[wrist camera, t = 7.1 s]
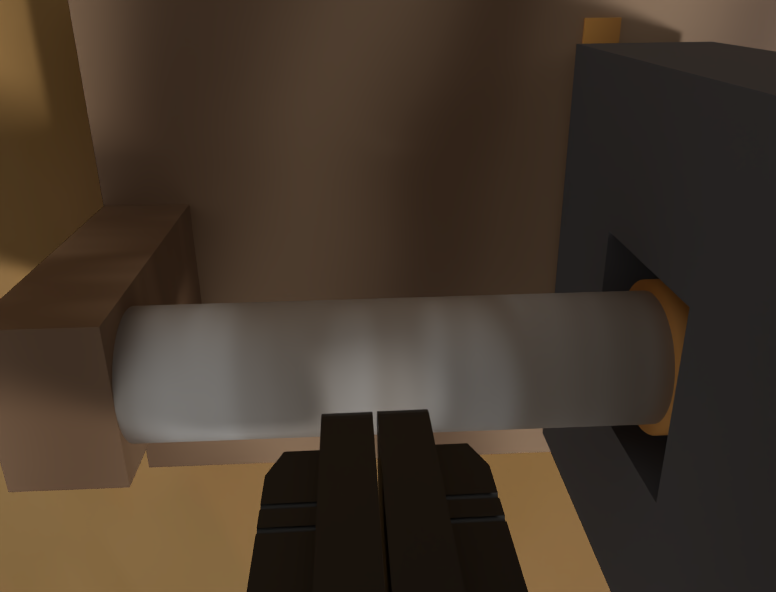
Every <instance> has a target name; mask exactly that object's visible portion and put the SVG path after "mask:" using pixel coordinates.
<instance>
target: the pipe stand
mask: <svg viewBox="0 0 776 592" xmlns="http://www.w3.org/2000/svg"><path fill="white" fill-rule="evenodd" d="M68 3H69V9H70V15H71V21H72V26H73V32H74V38H75V44H76V49H77V55H78V61H79V67H80V72H81V78H82V84H83V90H84V95H85V101H86V107H87V113H88V118H89V124H90V130H91V136H92V141H93V147H94V153H95V158H96V164H97V170H98V176H99V181H100V187H101V193H102V199H103V204H104V206H103V207H102V208H101V209H100V210H99V211H98V212H97V213H95V214H94V215H93V216H92V217H91V218H90V219H89V220H88V221H87V222H85V223H84V224H83V225H82V226H81V227H80V228H79V229H78V230H77V231H75V232H74V233H73V234H72V235H71V236H70V237H69V238H68V239H67V240H65V241H64V242H63V243H62V244H61V245H60V246H59V247H58V248H57V249H55V250H54V251H53V252H52V253H51V254H50V255H49V256H48V257H47V258H45V259H44V260H43V261H42V262H41V263H40V264H39V265H38V266H37V267H35V268H34V269H33V270H32V271H31V272H30V273H29V274H28V275H27V276H25V277H24V278H23V279H22V280H21V281H20V282H19V283H18V284H17V285H15V286H14V287H13V288H12V289H11V290H10V291H9V292H8V293H7V294H5V295H4V296H3V297H2V298H1V299H0V463H1V466H2V470H3V474H4V477H5V481H6V485H7V488H8V492H24V491H49V490H74V489H99V488H124V487H130V485H131V483H132V481H133V478H134V476H135V474H136V472H137V469H138V467H139V465H140V462H141V460H142V458H143V456H144V453H145V451H147V457H148V463H149V467H172V466H197V465H223V464H249V463H274V462H276V461H277V460H278V459H279V458H280V456H281V455H282V454H283V452H286V451H309V450H320V430H321V415H322V414H329V413H352V412H373V425H374V439H375V453H376V459H377V458H378V455H377V411H394V410H417V409H428V411H429V416H430V421H431V425H432V430H433V435H434V440H435V445H436V444H458V443H468V444H469V445H470V446H471V447H472V448H473V449H474V450H475V451H476V452H477V453H478V454H505V453H531V452H551V451H550V449H549V447H548V444H547V442H546V440H545V437H544V435H543V433H542V432H543V428H565V427H591V426H618V425H638V426H639V427H640V428H641V429H642V430H643V431H644V432H645V433H647V434H649V435H652V436H659V435H668V431H669V425H670V420H671V414H672V408H673V402H674V396H675V390H676V384H677V378H678V373H679V367H680V361H681V355H682V349H683V343H684V337H685V331H686V325H687V320H688V314H689V308H690V307H689V306H688V305H686V304H685V303H684V302H683V301H682V300H681V299H680V298H679V297H678V296H677V295H676V294H675V293H674V292H673V291H672V290H671V289H670V288H669V287H668V286H666V285H665V284H664V283H663V282H662V281H661V280H660V279H643V280H639V281H637V282H636V283H635V284H634V285H633V286H632V287H631V288H630V290H629V291H609V292H576V293H555V284H556V272H557V261H558V250H559V238H560V227H561V215H562V204H563V192H564V181H565V170H566V158H567V147H568V135H569V124H570V112H571V101H572V90H573V78H574V67H575V55H576V44H592V43H655V42H718V43H725V44H731V45H738V46H744V47H750V48H757V49H763V50H770V51H776V0H68Z"/></svg>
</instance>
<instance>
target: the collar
mask: <svg viewBox="0 0 776 592" xmlns="http://www.w3.org/2000/svg"><path fill="white" fill-rule="evenodd" d="M643 279H660V280H661V281H662V282H663V283H664V284H665V285H666V286H668V287H669V288H670V289H671V290H672V291H673V292H674V293H675V294H676V295H677V296H678V297H679V298H680V299H681V300H682V301H683V302H684V303H685V304H686V305H688V306H689V307H690V308H689V314H688V320H687V325H686V331H685V337H684V343H683V349H682V355H681V361H680V367H679V373H678V378H677V384H676V390H675V396H674V402H673V408H672V414H671V420H670V425H669V431H668V435H659V436H652V435H649V434H647V433H645V432H644V431H643V430H642V429H641V428H640V427H639V426H638V425H618V426H591V427H565V428H543V432H542V433H543V435H544V437H545V440H546V442H547V444H548V447H549V449H550V451H551V454H552V456H553V458H554V461H555V463H556V465H557V468H558V470H559V472H560V475H561V477H562V479H563V482H564V484H565V486H566V488H567V491H568V493H569V495H570V498H571V500H572V502H573V505H574V507H575V509H576V512H577V514H578V516H579V519H580V521H581V523H582V526H583V528H584V530H585V533H586V535H587V537H588V540H589V542H590V544H591V547H592V549H593V551H594V554H595V556H596V558H597V561H598V563H599V565H600V567H601V570H602V572H603V574H604V577H605V579H606V581H607V584H608V586H609V588H610V591H611V592H776V51H770V50H763V49H757V48H750V47H744V46H738V45H731V44H725V43H718V42H655V43H592V44H576V55H575V67H574V78H573V90H572V101H571V112H570V124H569V135H568V147H567V158H566V170H565V181H564V192H563V204H562V215H561V227H560V238H559V250H558V261H557V272H556V284H555V293H576V292H609V291H629V290H630V288H631V287H632V286H633V285H634V284H635V283H636V282H637V281H639V280H643Z"/></svg>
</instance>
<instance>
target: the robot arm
mask: <svg viewBox="0 0 776 592" xmlns="http://www.w3.org/2000/svg"><path fill="white" fill-rule="evenodd" d="M377 455H378V482H377V468H376V453H375V439H374V425H373V412H352V413H329V414H322V415H321V430H320V450H309V451H286V452H283V454H282V455H281V456H280V458H279V459H278V460H277V461H276V463H275V464H274V465H273V467H272V468H271V469H270V470H269V472H268V473H267V474H266V475H265V479H264V486H263V492H262V498H261V510H260V511H259V517H258V524H257V534H256V536H255V543H254V549H253V555H252V561H251V568H250V574H249V580H248V587H247V592H528V590H527V587H526V584H525V580H524V577H523V574H522V570H521V567H520V564H519V561H518V557H517V554H516V551H515V548H514V544H513V541H512V538H511V535H510V531H509V528H508V525H507V522H506V521H505V515H504V512H503V508H502V505H501V502H500V499H499V498H498V492H497V489H496V486H495V482H494V479H493V476H492V473H491V469H490V466H489V465H488V464H487V462H486V461H485V460H484V459H483V458H482V457H481V456H480V455H479V454H478V453H477V452H476V451H475V450H474V449H473V448H472V447H471V446H470V445H469V444H468V443H458V444H436V445H435V440H434V435H433V430H432V425H431V421H430V416H429V411H428V409H417V410H394V411H377Z"/></svg>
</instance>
